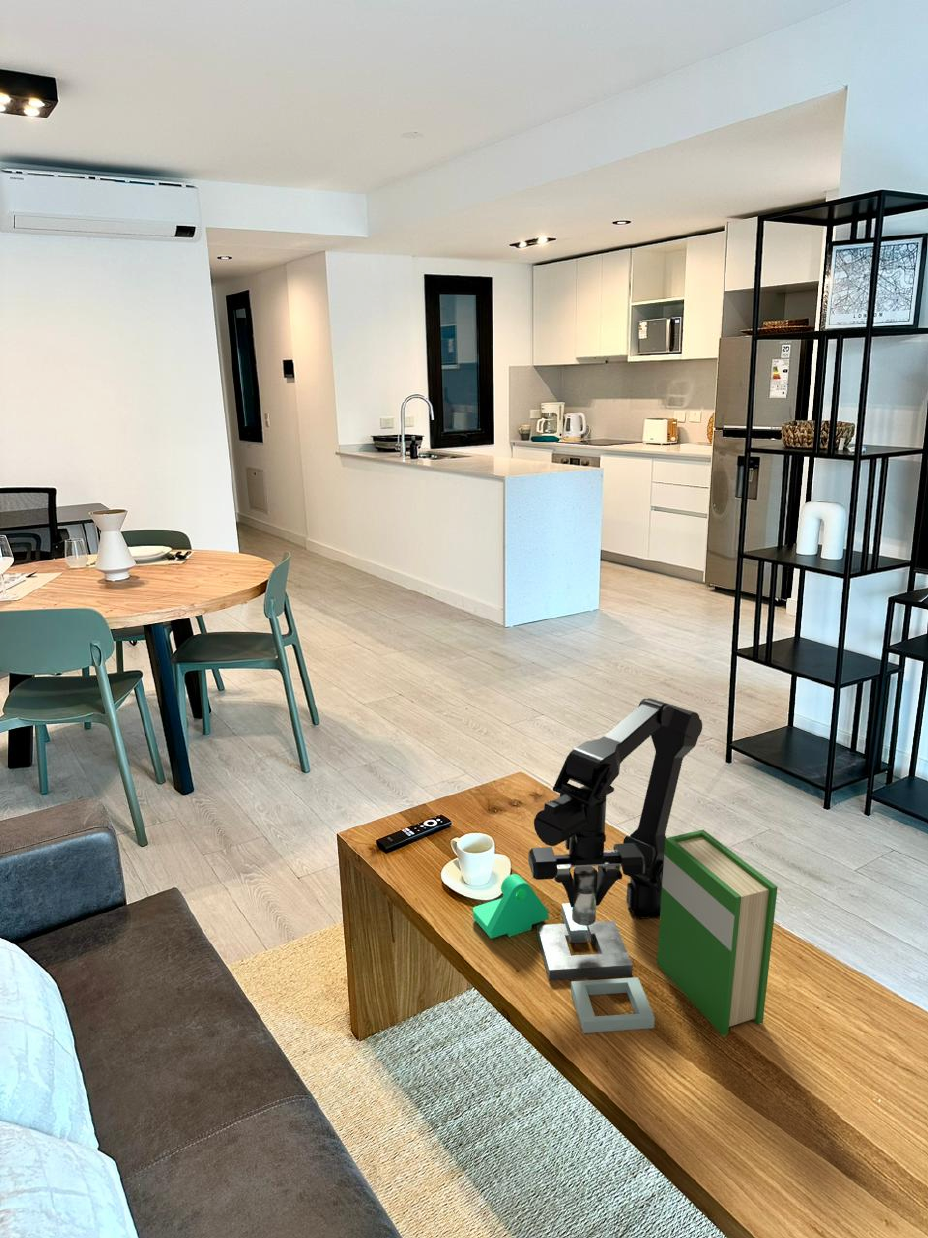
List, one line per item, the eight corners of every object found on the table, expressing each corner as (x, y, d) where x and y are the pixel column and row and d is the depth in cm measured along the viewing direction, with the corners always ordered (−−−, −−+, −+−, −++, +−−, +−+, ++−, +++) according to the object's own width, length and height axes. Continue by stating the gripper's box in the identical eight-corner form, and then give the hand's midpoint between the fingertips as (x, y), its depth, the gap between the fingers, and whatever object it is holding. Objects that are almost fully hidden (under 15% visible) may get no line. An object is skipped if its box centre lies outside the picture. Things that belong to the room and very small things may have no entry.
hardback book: (762, 1023, 130) (777, 886, 123) (723, 1036, 127) (736, 897, 121) (693, 953, 145) (703, 829, 139) (656, 964, 143) (665, 838, 136)
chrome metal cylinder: (592, 910, 145) (594, 864, 143) (598, 925, 141) (600, 878, 139) (569, 912, 145) (571, 865, 143) (574, 926, 141) (576, 879, 139)
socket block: (613, 930, 152) (614, 920, 151) (632, 975, 140) (632, 965, 140) (537, 934, 151) (537, 925, 150) (549, 980, 139) (549, 970, 138)
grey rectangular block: (577, 914, 156) (577, 902, 156) (587, 942, 149) (587, 929, 148) (561, 915, 156) (561, 903, 155) (570, 943, 148) (570, 930, 148)
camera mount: (526, 902, 160) (527, 854, 158) (548, 924, 154) (549, 874, 151) (470, 920, 155) (470, 871, 152) (491, 944, 148) (491, 893, 146)
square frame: (637, 987, 137) (637, 977, 137) (653, 1028, 129) (654, 1017, 128) (570, 992, 136) (571, 981, 136) (583, 1033, 128) (583, 1022, 127)
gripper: (629, 797, 147) (625, 875, 151) (523, 801, 145) (522, 881, 150) (648, 829, 136) (643, 913, 140) (534, 834, 135) (532, 919, 139)
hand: (584, 905), depth 143 cm, fingers closed on chrome metal cylinder, 4 cm apart
